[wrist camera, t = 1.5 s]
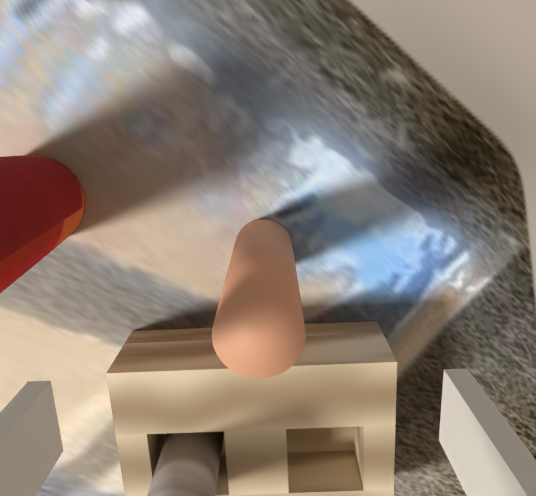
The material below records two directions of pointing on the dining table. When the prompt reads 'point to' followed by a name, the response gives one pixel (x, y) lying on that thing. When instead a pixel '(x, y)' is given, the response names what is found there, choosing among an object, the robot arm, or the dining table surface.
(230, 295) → the dowel
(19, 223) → the coffee cup
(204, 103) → the dining table surface
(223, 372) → the bore block
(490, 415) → the robot arm
